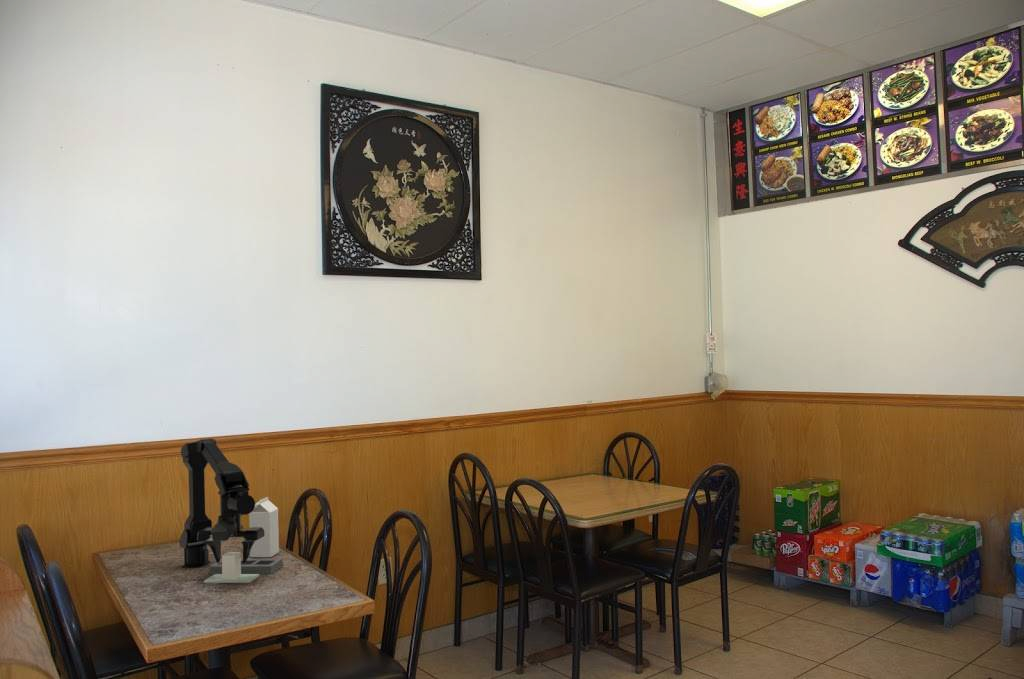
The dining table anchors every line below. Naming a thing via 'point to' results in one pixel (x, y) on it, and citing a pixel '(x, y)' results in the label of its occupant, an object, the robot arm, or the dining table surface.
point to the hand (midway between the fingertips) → (231, 562)
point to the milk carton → (265, 529)
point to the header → (252, 566)
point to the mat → (241, 579)
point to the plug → (231, 565)
